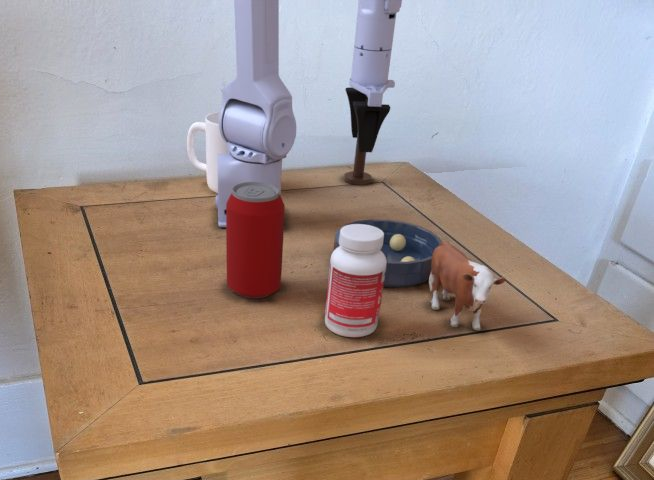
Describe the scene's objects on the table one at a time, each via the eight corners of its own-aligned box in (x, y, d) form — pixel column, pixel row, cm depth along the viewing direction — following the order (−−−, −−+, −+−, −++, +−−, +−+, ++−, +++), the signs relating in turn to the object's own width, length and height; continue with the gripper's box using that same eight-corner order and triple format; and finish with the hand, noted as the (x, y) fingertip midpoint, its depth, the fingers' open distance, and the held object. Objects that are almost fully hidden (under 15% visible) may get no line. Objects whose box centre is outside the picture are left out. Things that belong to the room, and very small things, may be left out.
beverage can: (289, 284, 88) (295, 186, 80) (266, 306, 84) (269, 205, 75) (241, 272, 90) (242, 175, 82) (216, 293, 86) (215, 193, 77)
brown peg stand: (345, 184, 116) (352, 120, 110) (342, 175, 120) (348, 112, 113) (373, 185, 117) (381, 121, 110) (368, 176, 120) (376, 113, 113)
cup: (246, 199, 109) (247, 128, 102) (177, 187, 112) (173, 117, 105) (265, 183, 115) (267, 115, 108) (199, 171, 118) (197, 105, 111)
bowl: (339, 289, 88) (342, 262, 86) (327, 243, 98) (329, 218, 96) (449, 290, 89) (455, 264, 87) (425, 245, 99) (430, 220, 97)
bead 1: (390, 253, 95) (392, 237, 94) (387, 247, 97) (389, 231, 95) (405, 253, 95) (408, 238, 94) (402, 247, 97) (405, 231, 95)
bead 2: (399, 277, 90) (402, 260, 88) (396, 269, 91) (399, 253, 90) (416, 277, 90) (419, 260, 89) (413, 269, 92) (416, 253, 90)
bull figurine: (461, 349, 78) (478, 280, 73) (417, 294, 88) (429, 229, 82) (496, 346, 79) (516, 278, 74) (449, 292, 89) (464, 228, 83)
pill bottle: (383, 337, 79) (399, 242, 72) (332, 341, 78) (343, 245, 71) (366, 311, 84) (379, 219, 76) (318, 315, 83) (326, 221, 75)
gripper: (408, 58, 100) (393, 159, 109) (390, 38, 111) (378, 132, 120) (359, 56, 100) (349, 157, 109) (346, 37, 110) (338, 130, 119)
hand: (361, 144), depth 114 cm, fingers open, 7 cm apart
